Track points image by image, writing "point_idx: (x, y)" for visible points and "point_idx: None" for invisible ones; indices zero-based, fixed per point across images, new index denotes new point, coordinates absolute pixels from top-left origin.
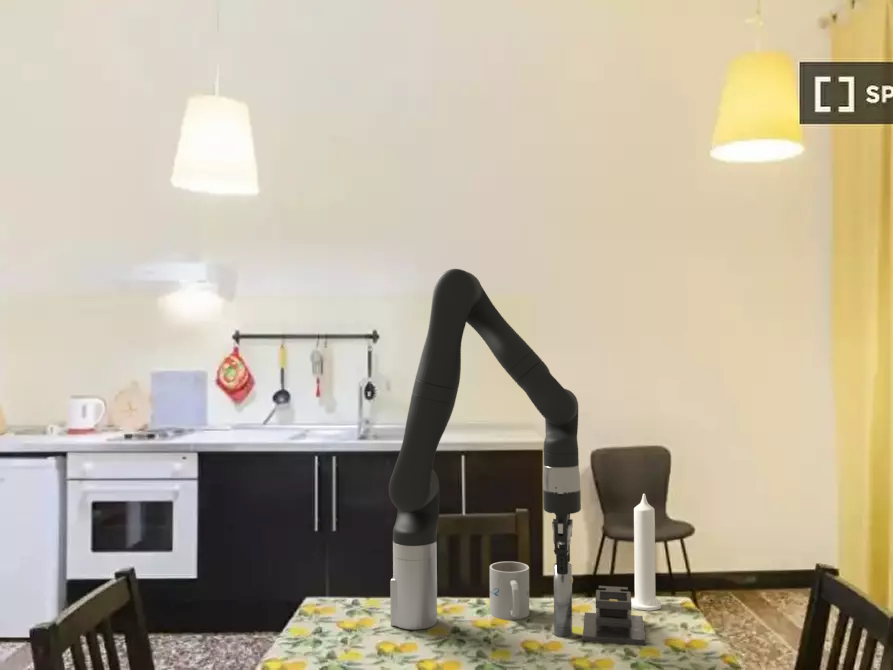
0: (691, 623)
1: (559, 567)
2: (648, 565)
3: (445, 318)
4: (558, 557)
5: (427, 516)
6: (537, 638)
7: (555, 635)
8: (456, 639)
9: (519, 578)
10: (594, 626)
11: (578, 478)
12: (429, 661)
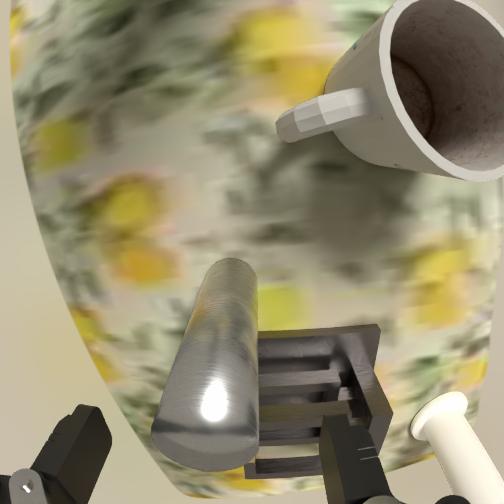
0: None
1: (56, 434)
2: (452, 488)
3: None
4: (31, 468)
5: None
6: (179, 215)
7: (215, 263)
8: (127, 8)
9: (390, 132)
10: (272, 361)
11: None
12: (13, 24)
